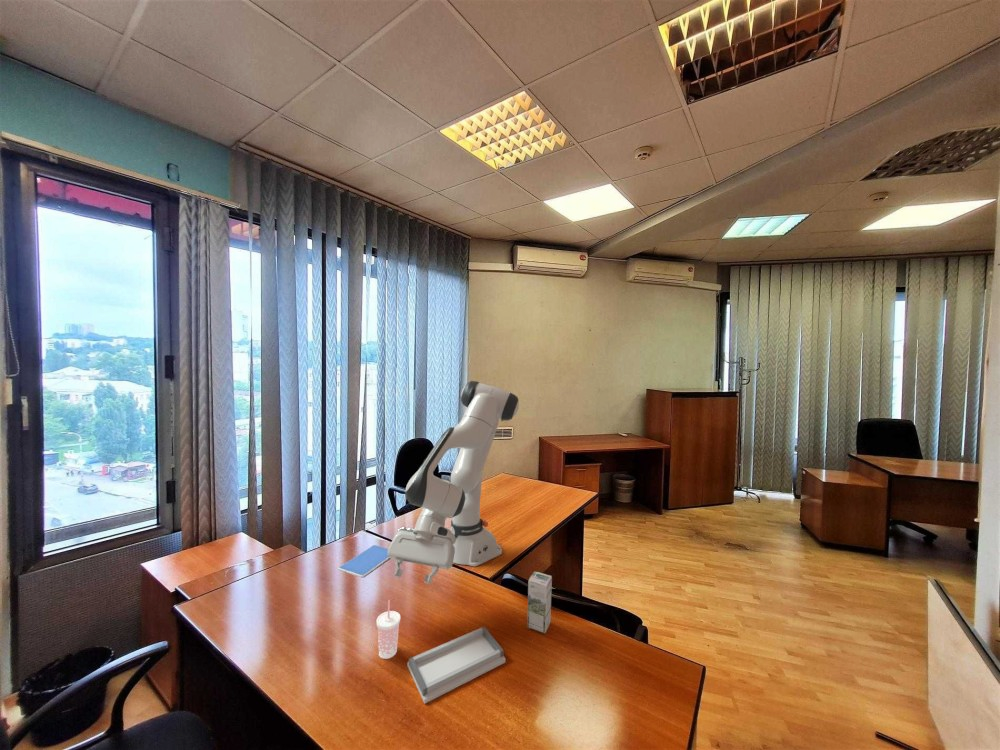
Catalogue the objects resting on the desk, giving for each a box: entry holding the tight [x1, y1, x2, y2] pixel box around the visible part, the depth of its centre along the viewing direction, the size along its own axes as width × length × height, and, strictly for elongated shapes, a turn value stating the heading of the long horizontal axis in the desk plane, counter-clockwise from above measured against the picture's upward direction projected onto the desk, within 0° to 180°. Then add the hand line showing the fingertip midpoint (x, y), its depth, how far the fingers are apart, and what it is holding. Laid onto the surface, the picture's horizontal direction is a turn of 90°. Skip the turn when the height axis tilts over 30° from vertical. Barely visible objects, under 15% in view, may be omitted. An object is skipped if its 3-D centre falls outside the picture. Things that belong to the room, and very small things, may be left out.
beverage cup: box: [376, 599, 401, 660], centre depth 95 cm, size 6×6×14 cm
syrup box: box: [526, 571, 553, 634], centre depth 106 cm, size 6×6×14 cm
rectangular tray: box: [406, 626, 506, 704], centre depth 92 cm, size 22×12×2 cm, turn 123°
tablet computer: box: [337, 544, 391, 578], centre depth 139 cm, size 19×13×1 cm, turn 157°
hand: (411, 579), depth 102 cm, fingers open, 8 cm apart
